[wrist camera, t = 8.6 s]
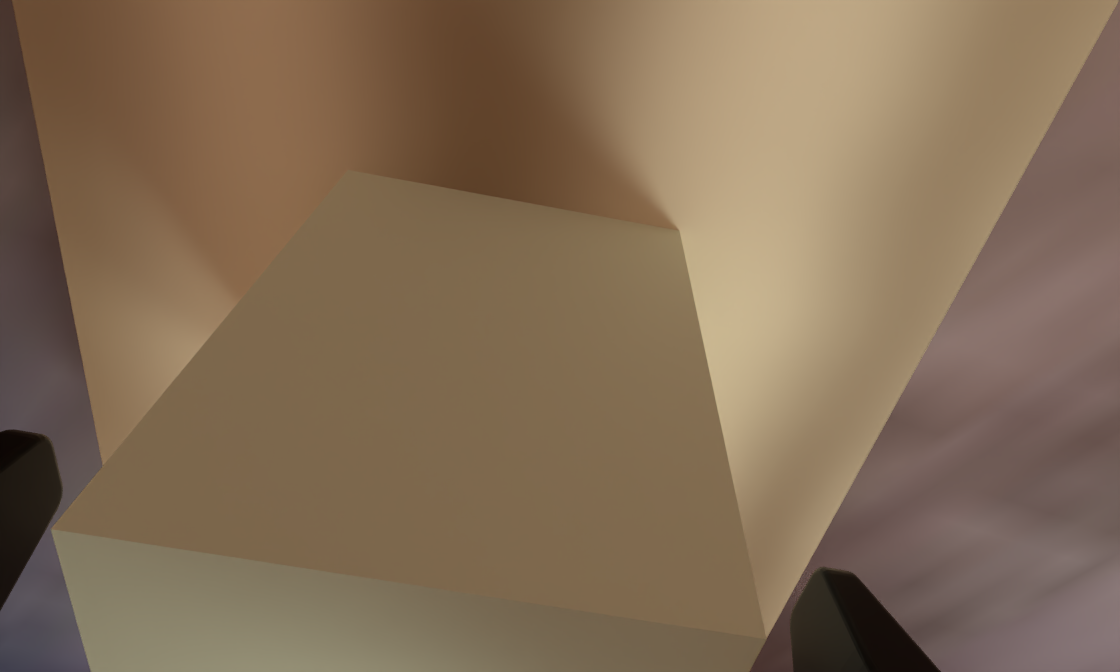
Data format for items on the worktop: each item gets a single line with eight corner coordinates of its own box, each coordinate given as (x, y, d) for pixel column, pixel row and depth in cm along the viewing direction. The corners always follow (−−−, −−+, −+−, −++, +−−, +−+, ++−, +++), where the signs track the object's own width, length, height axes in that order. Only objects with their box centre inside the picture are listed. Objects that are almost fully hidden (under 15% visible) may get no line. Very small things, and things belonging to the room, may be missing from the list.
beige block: (679, 230, 11) (767, 638, 5) (609, 471, 14) (615, 921, 8) (347, 170, 11) (49, 529, 5) (342, 428, 14) (144, 861, 8)
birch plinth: (1020, -55, 12) (1136, -32, 9) (737, 547, 19) (758, 652, 17) (106, -263, 11) (-47, -302, 8) (185, 454, 18) (119, 549, 16)
